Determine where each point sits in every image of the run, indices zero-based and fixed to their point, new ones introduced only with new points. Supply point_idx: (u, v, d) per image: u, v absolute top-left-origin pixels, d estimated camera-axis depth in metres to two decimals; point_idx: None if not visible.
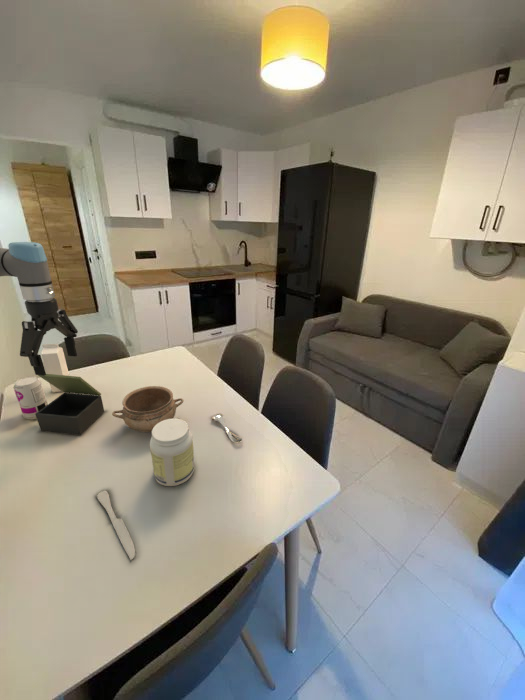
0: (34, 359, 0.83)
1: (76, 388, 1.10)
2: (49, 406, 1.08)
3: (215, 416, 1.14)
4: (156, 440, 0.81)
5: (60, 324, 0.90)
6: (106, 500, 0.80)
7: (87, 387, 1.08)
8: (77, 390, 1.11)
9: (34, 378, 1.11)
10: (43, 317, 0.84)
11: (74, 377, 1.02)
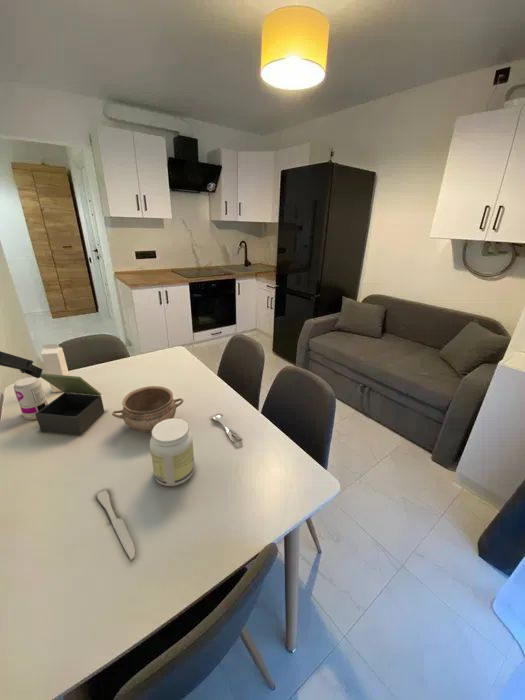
0: None
1: (76, 388, 1.10)
2: (49, 406, 1.08)
3: (215, 416, 1.14)
4: (156, 440, 0.81)
5: None
6: (106, 500, 0.80)
7: (87, 387, 1.08)
8: (77, 390, 1.11)
9: (34, 378, 1.11)
10: None
11: (74, 377, 1.02)
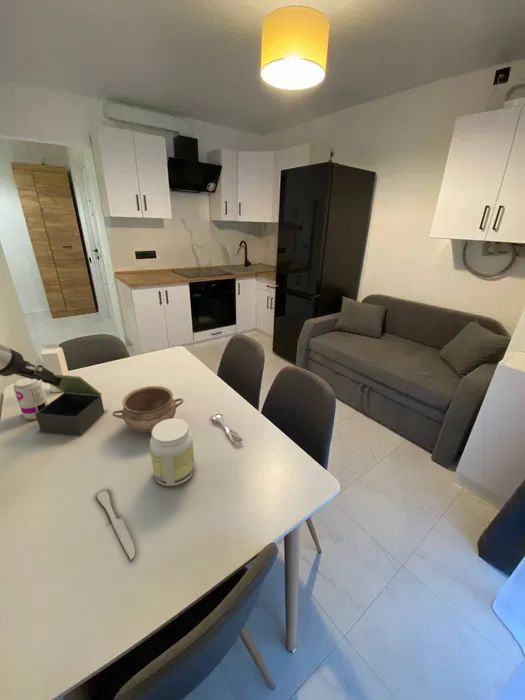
0: (41, 379, 0.96)
1: (76, 388, 1.10)
2: (49, 406, 1.08)
3: (215, 416, 1.14)
4: (156, 440, 0.81)
5: (27, 375, 0.88)
6: (106, 500, 0.80)
7: (87, 387, 1.08)
8: (77, 390, 1.11)
9: None
10: None
11: (74, 377, 1.02)
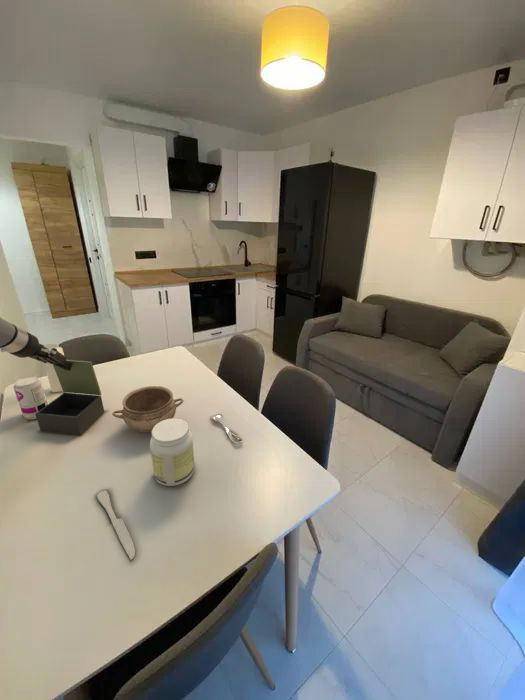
0: (53, 363, 1.01)
1: (80, 383, 1.12)
2: (49, 406, 1.08)
3: (215, 416, 1.14)
4: (156, 440, 0.81)
5: (41, 358, 0.93)
6: (106, 500, 0.80)
7: (92, 379, 1.10)
8: (80, 385, 1.13)
9: (34, 378, 1.11)
10: None
11: (86, 361, 1.07)
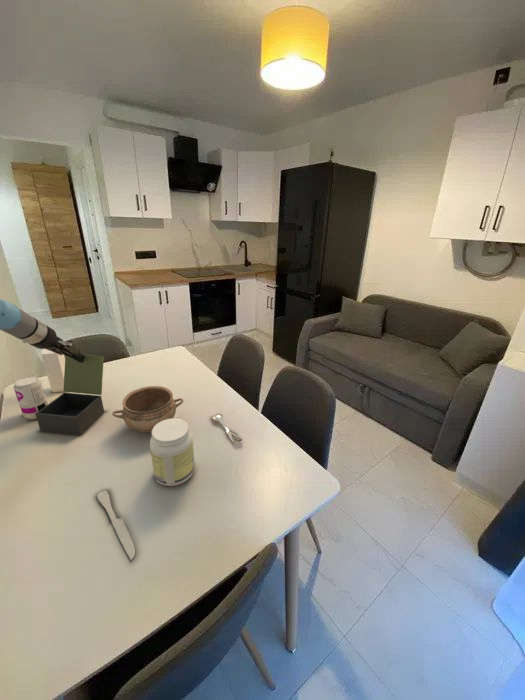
0: (68, 355, 1.08)
1: (84, 380, 1.14)
2: (49, 406, 1.08)
3: (215, 416, 1.14)
4: (156, 440, 0.81)
5: (58, 349, 0.99)
6: (106, 500, 0.80)
7: (98, 375, 1.14)
8: (83, 383, 1.14)
9: (34, 378, 1.11)
10: None
11: (98, 356, 1.14)
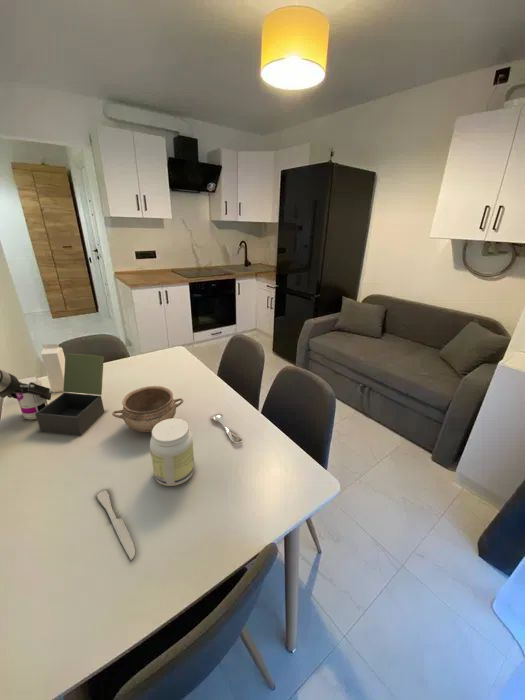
0: (11, 396, 1.09)
1: (84, 380, 1.14)
2: (49, 406, 1.08)
3: (215, 416, 1.14)
4: (156, 440, 0.81)
5: (22, 393, 1.02)
6: (106, 500, 0.80)
7: (98, 375, 1.14)
8: (83, 383, 1.14)
9: (34, 378, 1.11)
10: None
11: (98, 356, 1.14)
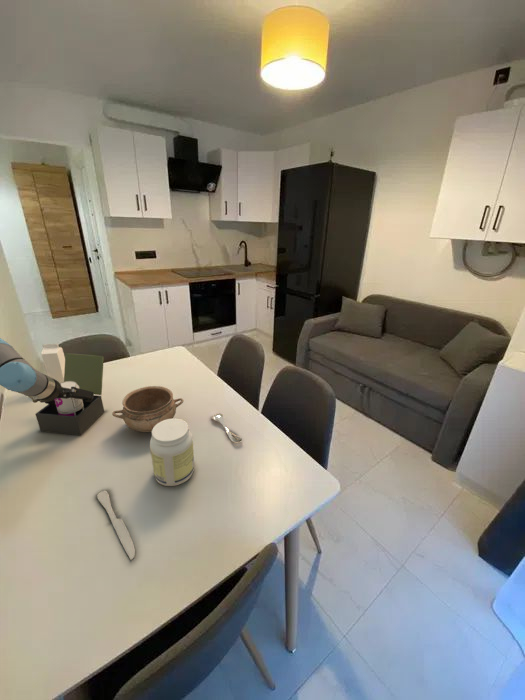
0: None
1: (84, 380, 1.14)
2: (49, 406, 1.08)
3: (215, 416, 1.14)
4: (156, 440, 0.81)
5: (65, 398, 0.99)
6: (106, 500, 0.80)
7: (98, 375, 1.14)
8: (83, 383, 1.14)
9: (72, 383, 1.07)
10: None
11: (98, 356, 1.14)
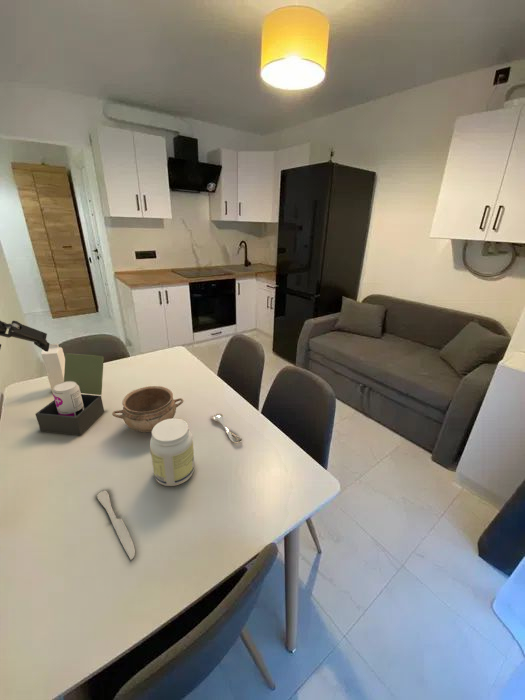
0: None
1: (84, 380, 1.14)
2: (49, 406, 1.08)
3: (215, 416, 1.14)
4: (156, 440, 0.81)
5: (6, 336, 0.80)
6: (106, 500, 0.80)
7: (98, 375, 1.14)
8: (83, 383, 1.14)
9: (72, 383, 1.07)
10: None
11: (98, 356, 1.14)
